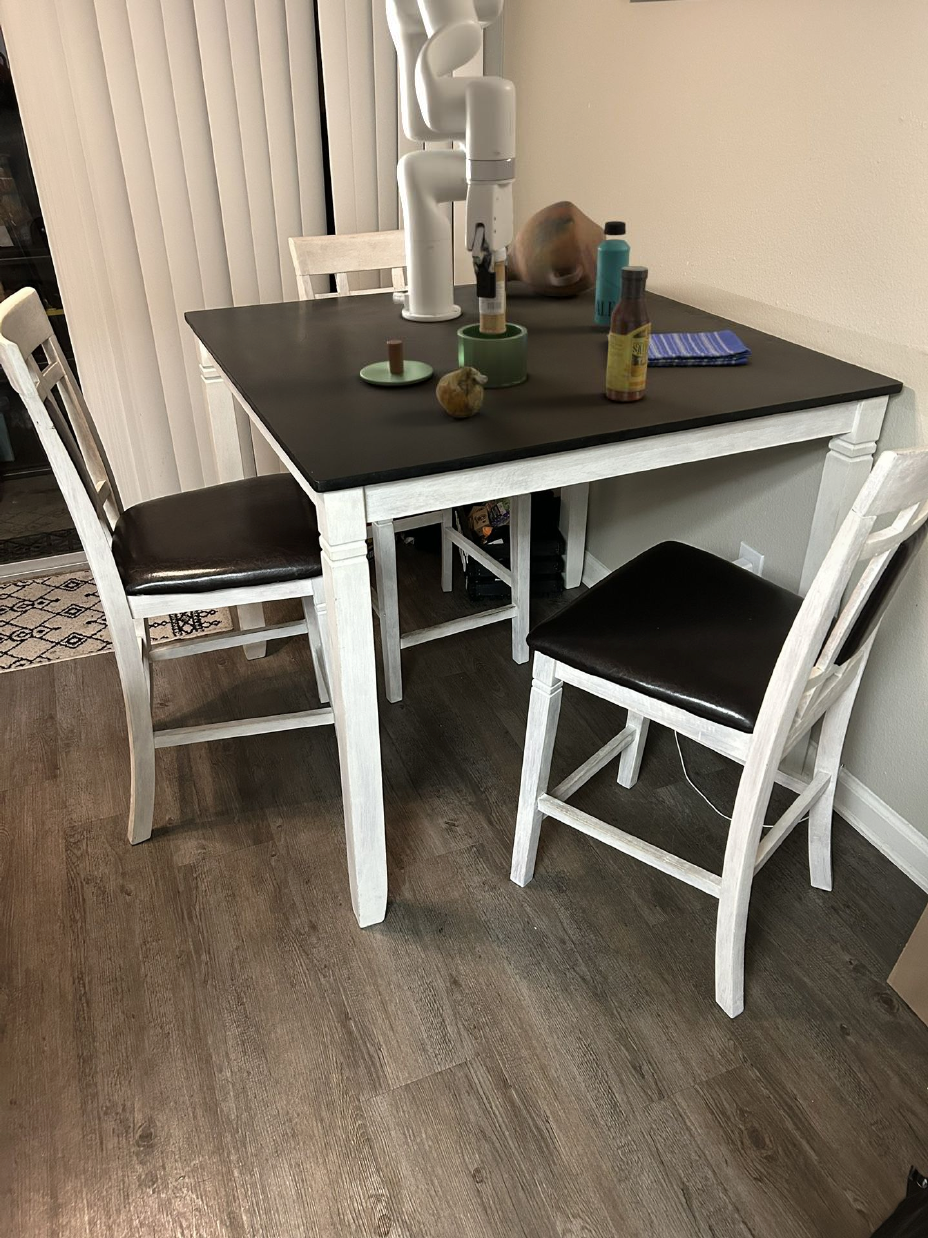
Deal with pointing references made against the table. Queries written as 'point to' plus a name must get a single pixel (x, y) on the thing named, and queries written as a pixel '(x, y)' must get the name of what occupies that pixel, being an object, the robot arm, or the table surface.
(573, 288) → the jug
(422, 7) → the robot arm
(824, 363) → the table surface
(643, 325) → the sauce bottle
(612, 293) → the beverage bottle
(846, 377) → the table surface
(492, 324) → the sprinkles bottle
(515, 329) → the tin
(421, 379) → the tin lid
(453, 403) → the onion
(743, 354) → the dish towel
